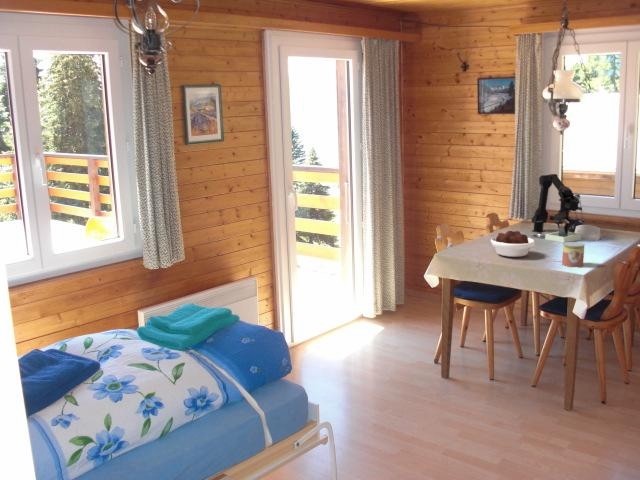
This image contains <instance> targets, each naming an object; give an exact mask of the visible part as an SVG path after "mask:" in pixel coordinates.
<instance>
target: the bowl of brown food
mask: <svg viewBox="0 0 640 480" xmlns="http://www.w3.org/2000/svg"><path fill="white" fill-rule="evenodd" d="M490 243H491V245H492V246H493V248H494V249H495V252H496V253H497V254H498V255H500V256H504V257H508V258H518V257H524V256H525V257H526V255H528V254H529V252H530V250H531V249H532V248H533V247H534V245H535V244H536V243H535V239H533V238H531V237H528V235H526V234H522V233H521V232H520V231H519V230H516V231H515V230H507V231H506V232H505V233H503V232H499V233H497V236H494V237H492V238H490Z"/></svg>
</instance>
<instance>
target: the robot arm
mask: <svg viewBox="0 0 640 480" xmlns="http://www.w3.org/2000/svg"><path fill="white" fill-rule="evenodd" d="M538 180H539V181H538V183H539V186H540V192H539V199H538V200H539V201H538V206H537V207H538V208H537V209H536V210H535V212H534V215H533V217H532V218H531V223H533V230H531V231H532V232H535V233H544V232H545V230H544V227H545V226H544V223H545V224H546V223H547V222H548V220H549V221H554V223H555V224H556V225H557V228H558V229H559V224H561V223H564V222H565V225H566V230H565V232H566V233H567V232H569V230H570V228H571V226H572V225H575V224H580V219H579V218H577V217H572V218H571V216H570V212H576V211H577V210H578V208H579V205H578V203H577V201H576V200H575V196H574V192H573V191H572V189H571V188H570V187H568V186H566V185H565V184H564V183H563V181H561V179H560V178H559V176H558V174H556V173H550V174H543V175H540V176H539V179H538ZM552 184H553V185H554V187H555V188H556V189H557V191H558V192H557V194H558V196H559V198H560V199H558V200H559V202H560V203H559V205H560V206H559V210H558V212H557V213H556V214H553V215H550V216H549V212H548V211H547V203H548V197H549V195H548V194H549V189H550V187H552ZM548 218H549V219H548Z"/></svg>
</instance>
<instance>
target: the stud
mask: <svg viewBox="0 0 640 480" xmlns="http://www.w3.org/2000/svg"><path fill="white" fill-rule="evenodd" d="M545 236H546V234H545V233H544V232H536V234H532V235H530V238H531V237H532V238H536V239H545Z"/></svg>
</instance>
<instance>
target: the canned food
mask: <svg viewBox="0 0 640 480" xmlns="http://www.w3.org/2000/svg"><path fill="white" fill-rule="evenodd" d="M561 257H562V259H561V266H563V265H564V266H563V267H566V266H567V267H566V268H573V267H578V268H582V267H581V266H583V267H584V259H585V258H584V257H585V243H582V242H578V241H574V242H565V243H562V256H561Z"/></svg>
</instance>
